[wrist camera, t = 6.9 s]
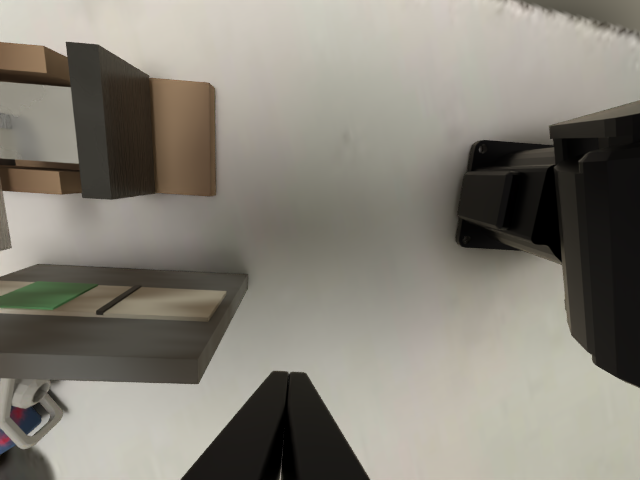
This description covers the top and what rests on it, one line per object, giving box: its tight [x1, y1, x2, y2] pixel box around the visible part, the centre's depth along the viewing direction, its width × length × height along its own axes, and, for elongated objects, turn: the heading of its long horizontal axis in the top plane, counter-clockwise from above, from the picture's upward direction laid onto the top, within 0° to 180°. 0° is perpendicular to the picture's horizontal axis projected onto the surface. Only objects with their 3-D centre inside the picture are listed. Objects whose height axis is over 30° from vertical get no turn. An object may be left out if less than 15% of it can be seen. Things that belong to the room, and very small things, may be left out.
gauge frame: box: [0, 42, 248, 384], centre depth 13 cm, size 15×12×9 cm
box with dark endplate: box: [0, 42, 155, 251], centre depth 13 cm, size 6×8×6 cm
